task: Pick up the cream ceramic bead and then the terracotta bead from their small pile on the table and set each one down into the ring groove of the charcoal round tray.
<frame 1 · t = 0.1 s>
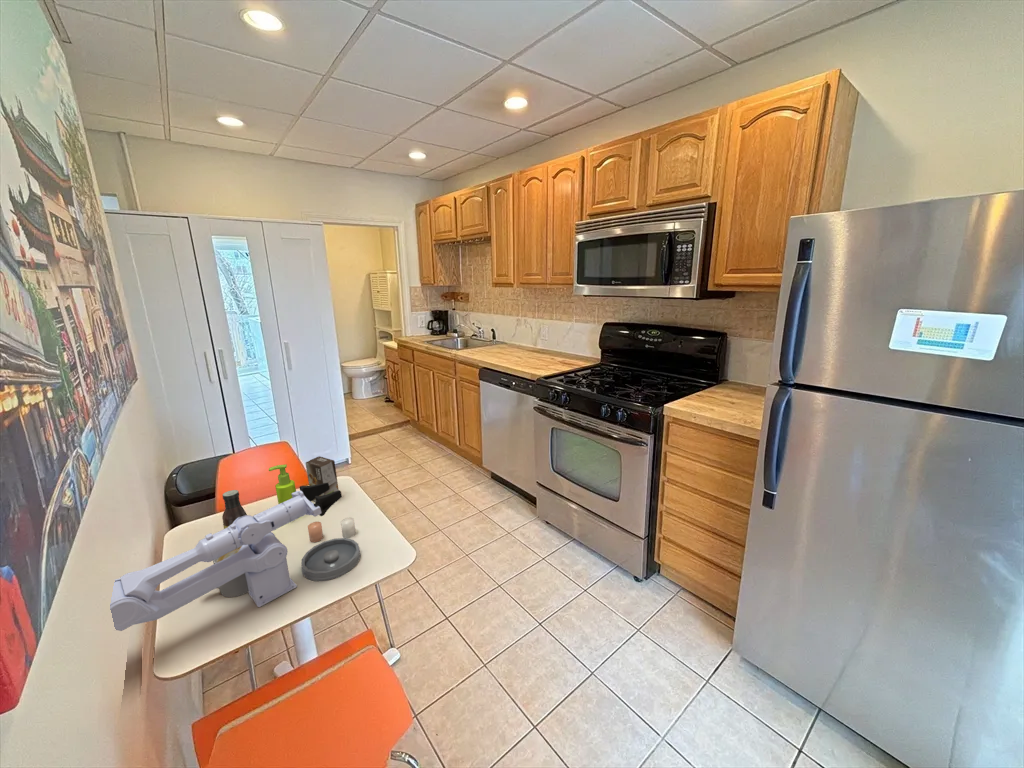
hand: (334, 489, 118), 22 cm above the table, tool horizontal, fingers open, 7 cm apart
cream bead: (349, 534, 133), on the table
sauce bottle: (241, 551, 125), on the table
groove tray: (332, 561, 120), on the table
soap dispenser: (289, 518, 143), on the table
coffee box: (325, 500, 154), on the table
coffee mug: (234, 586, 111), on the table, touching arm
terracotta bead: (316, 538, 131), on the table
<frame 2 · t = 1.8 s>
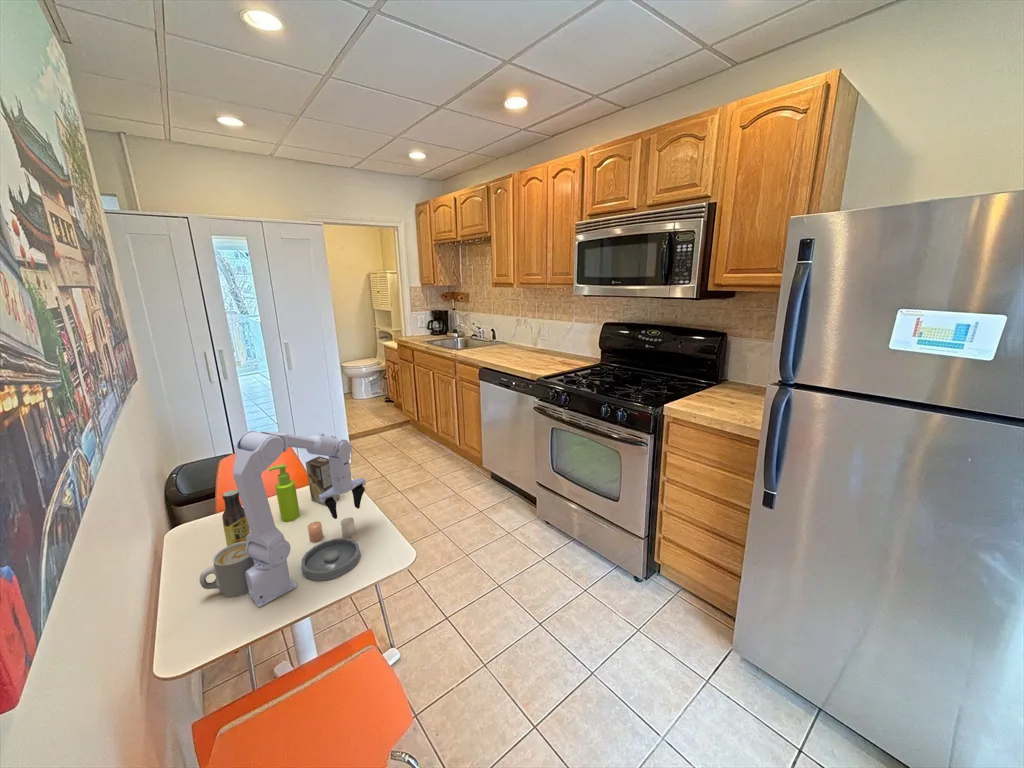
hand: (346, 512, 131), 8 cm above the table, tool pointing down, fingers open, 7 cm apart
coffee mug: (235, 586, 111), on the table
everything else where it was.
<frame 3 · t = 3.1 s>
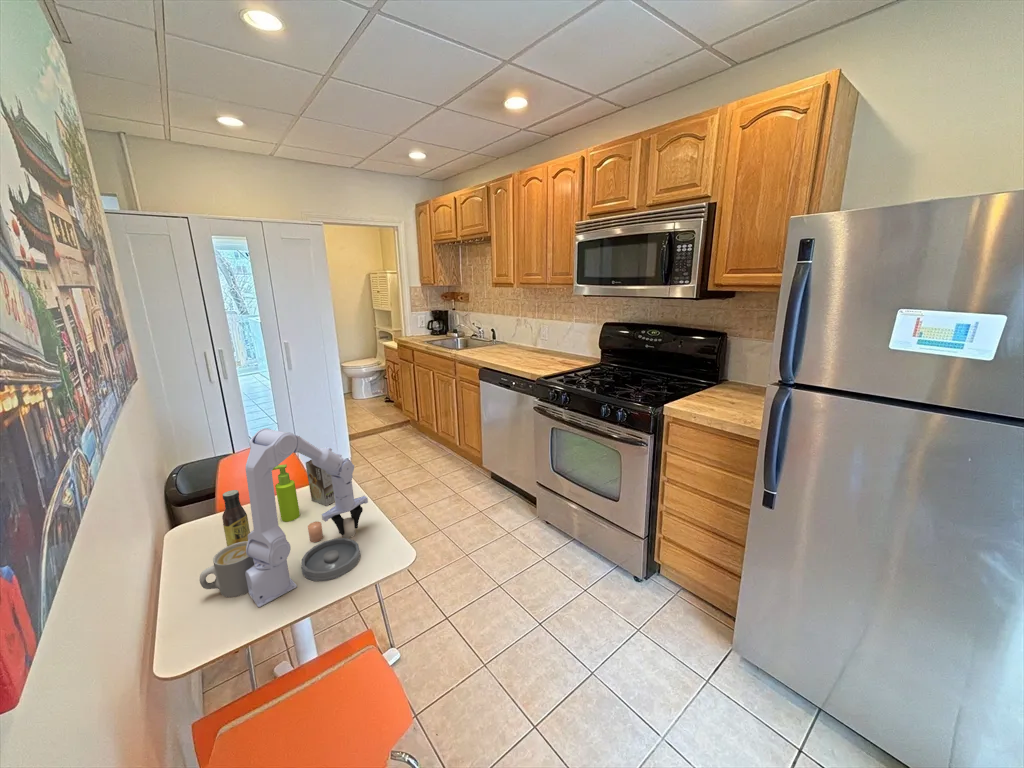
hand: (348, 530, 132), 1 cm above the table, tool pointing down, fingers closed on cream bead, 4 cm apart
cream bead: (349, 534, 133), on the table, touching gripper
everything else where it was.
when the fingers open (4 cm above the table, at t = 6.0 s): cream bead drops 1 cm, resting on groove tray.
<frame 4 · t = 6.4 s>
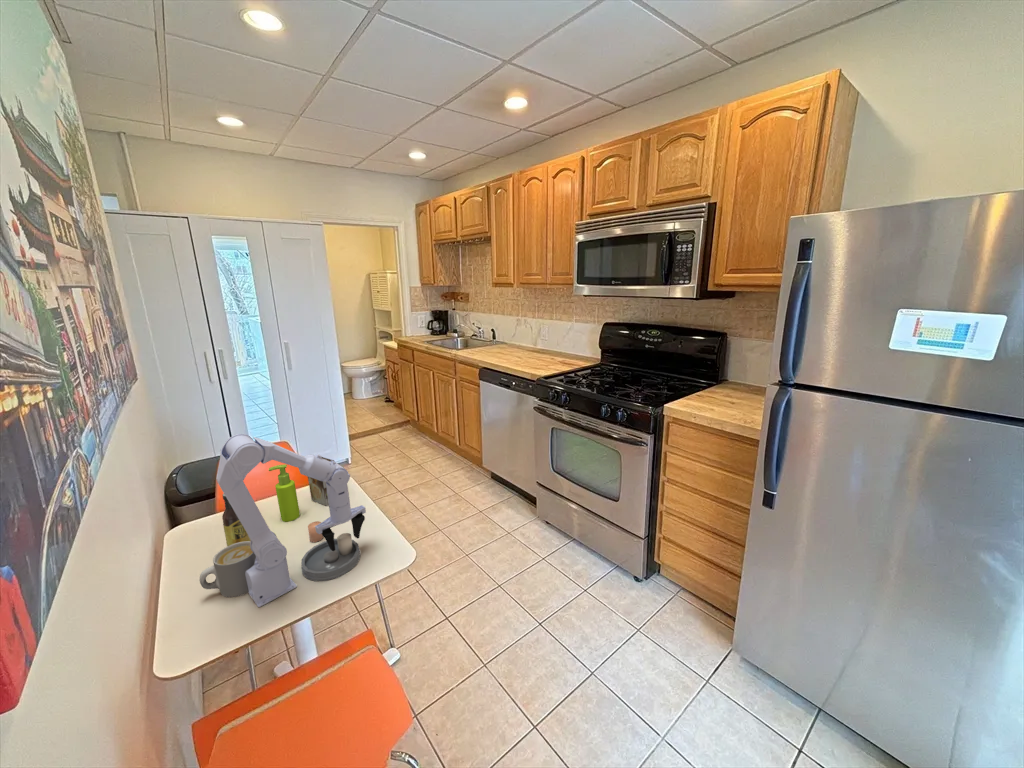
hand: (344, 543, 122), 4 cm above the table, tool pointing down, fingers open, 7 cm apart
cream bead: (346, 551, 123), point 1 cm above the table, touching groove tray
everything else where it was.
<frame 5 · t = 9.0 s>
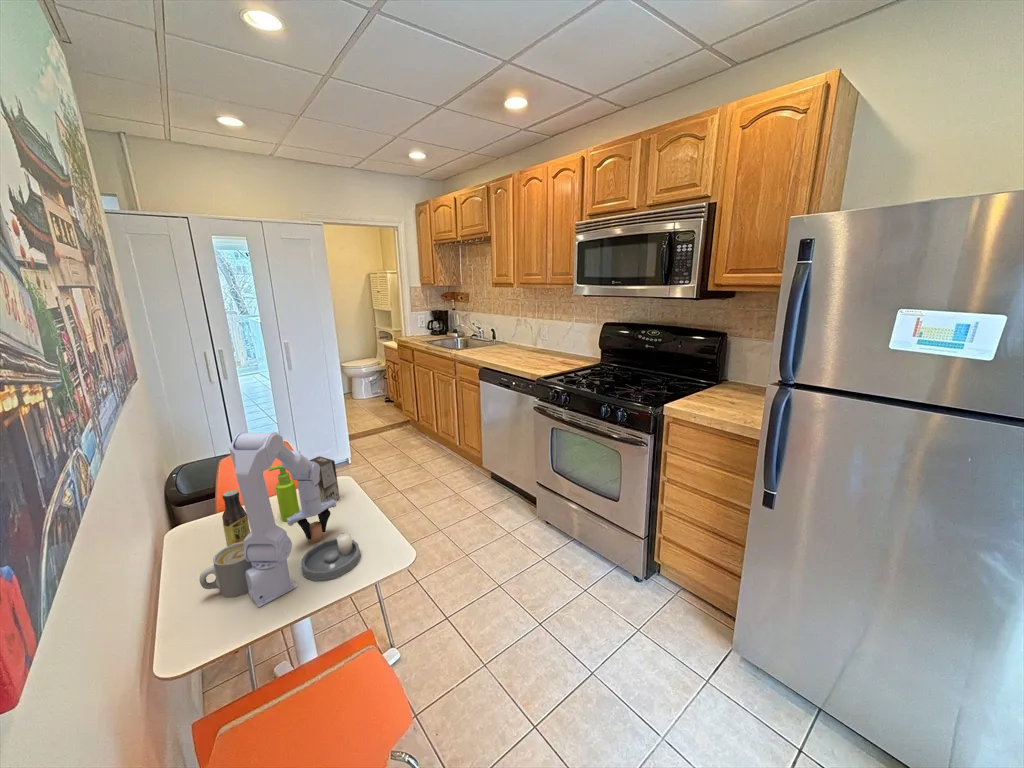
hand: (316, 534, 130), 1 cm above the table, tool pointing down, fingers closed on terracotta bead, 4 cm apart
terracotta bead: (316, 538, 131), on the table, touching gripper
everything else where it was.
when the fingers open (4 cm above the table, at t = 12.4 s): terracotta bead drops 1 cm, resting on groove tray.
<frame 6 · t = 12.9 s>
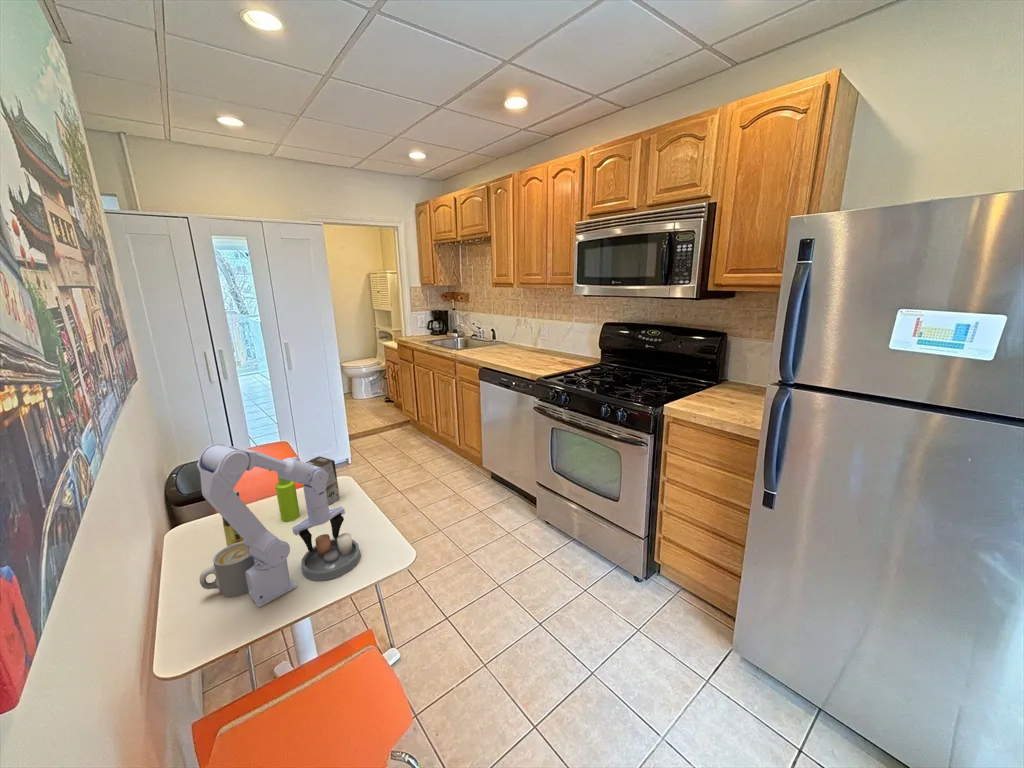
hand: (323, 544, 121), 4 cm above the table, tool pointing down, fingers open, 7 cm apart
terracotta bead: (324, 552, 122), point 1 cm above the table, touching groove tray
everything else where it was.
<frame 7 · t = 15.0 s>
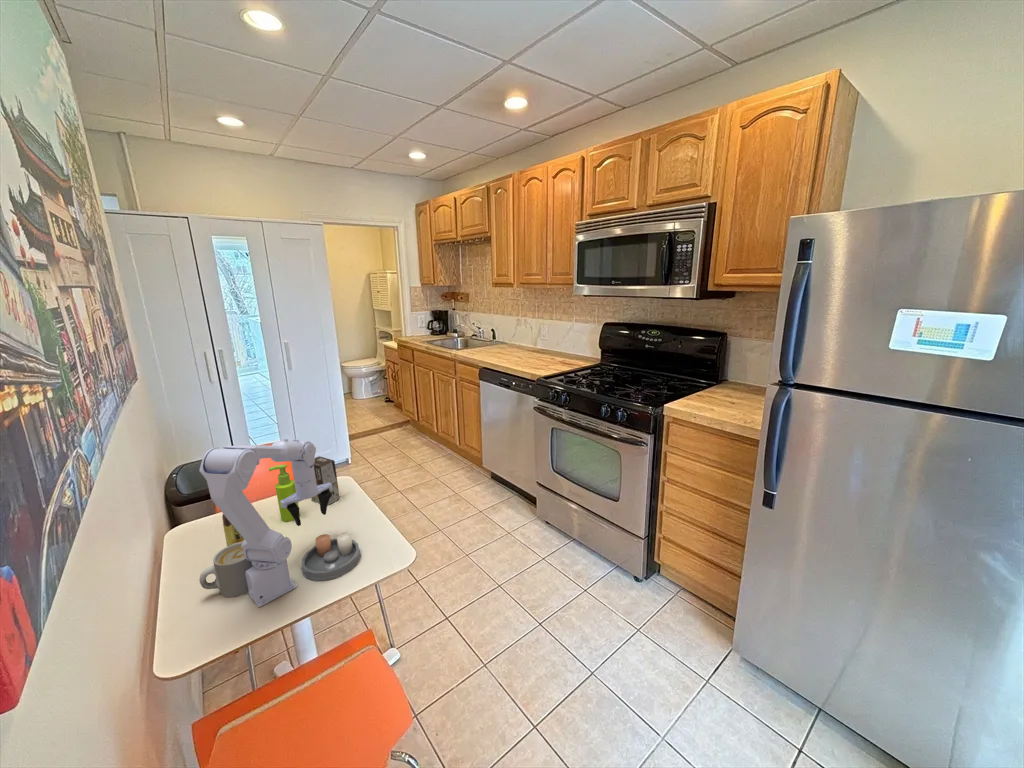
hand: (311, 518, 124), 10 cm above the table, tool pointing down, fingers open, 7 cm apart
nothing on the table moved.
at the end: cream bead inside the target area on the groove tray (4.5 cm from its centre), point 1.0 cm above the groove tray's base; terracotta bead inside the target area on the groove tray (4.5 cm from its centre), point 1.0 cm above the groove tray's base; the gripper is holding nothing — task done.
